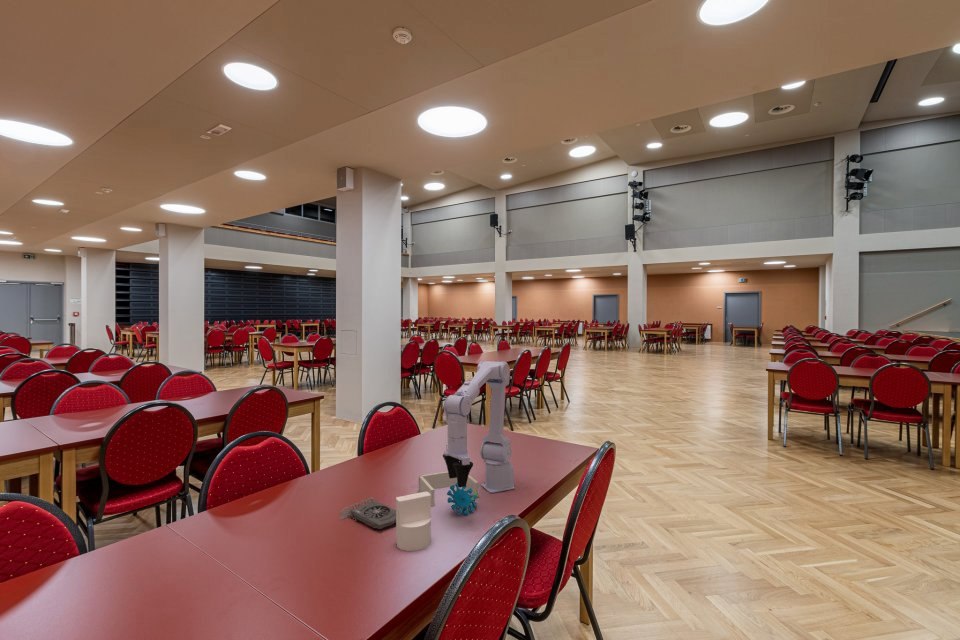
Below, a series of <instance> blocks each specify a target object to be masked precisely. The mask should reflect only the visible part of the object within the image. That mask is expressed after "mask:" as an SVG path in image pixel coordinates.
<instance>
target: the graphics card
mask: <svg viewBox="0 0 960 640" xmlns="http://www.w3.org/2000/svg"><path fill="white" fill-rule="evenodd" d="M339 515H342V516H339V521H341V520H343V519H344V518H345V519H347V517H348V519H349V518H352V520H353V519H355V520H354V521H356V522H357V521H359V522H361V523H363V524H366V525H368V526H369V525H370V526H369V527H371V526H372V527H371V528H373V529H375V528H377V530H378V529H379V530H384V528H385V527H388V526H393V525H395V524H396V509H394V508H392V507H390V506H388V505H385V504H383V503H381V502H379V501H377V500H374V497H373V496H371V497H368V498H366V499H363V500H361V501H359V502H357V503H354V504H351V505H348V506H345V507H344V508H342V509H341V510H340V511H339ZM352 516H353V517H352ZM345 519H344V520H345ZM394 523H395V524H394ZM392 524H393V525H392Z"/></svg>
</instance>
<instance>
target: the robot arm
mask: <svg viewBox="0 0 960 640" xmlns="http://www.w3.org/2000/svg"><path fill="white" fill-rule="evenodd" d="M510 377H511V367H510V366H509V364H508V362H507V361H489V360H487V361H486V360H481V361H480V362H479V363H478V364H477V369H476V372H475V374H474V376H473V377H472V378H471V380H466V381H464V382H463V384H462V385H461V386H460V387H459V388H458V389H457V391H455V392H454V394H450V395H448V396H447V397H446V398H445V399H444V404H443V406H442V407H443V411H444V413H445V419H446V421H447V444H446V446H445V448H446V449H445V450H446V451H443V454H442V457H443V459H444V461H445V465H446V468H447V471H448V474H449V478H450V479H451V478H457V483H458V487H459V489H461V488H462V487H466V484H467V479H468V475H470V473H471V470H472V468H473V466H474V462H472V461H471V460H470V459H471V458H470V456H469V451H468V415H470V412H471V408H472V407H473V406H472V405H473V402H474V401H475V399H477V397H479V394H480V388H482V386H483V385H484V384H487V385H489V387H490V404H489V405H490V407H489V421H488V422H489V423H488V434H486V435H484V436H483V438H481V439H482V440H481V446H480V449H479V455H480V457H481V459H482V460H483V463H485V467H484V468H485V470H484V471H485V473H484V475H485V476H484V477H485V483H484V482H483V483H481V484H480V486H481V487H482V488H484V489H485V490H486V491H488V493H490V494H494V493H500V492H505V491H510V490H515V489H516V487H515V480H514V479H515V478H514V477H515V473H514V472H515V471H514V470H515V469H514V466H513V465H514V464H513V463H512V461H511V458H512V451H513V450H512V445H511V443H512V442H511V439H509V437H507V436H506V434H504V423H505V405H506V387H507V386H509V385H510Z"/></svg>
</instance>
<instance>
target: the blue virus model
mask: <svg viewBox="0 0 960 640" xmlns="http://www.w3.org/2000/svg"><path fill="white" fill-rule="evenodd" d="M466 487H467V485H466ZM466 487H461V488H459V487H458V483H456V484H455V486H454V485H452V486H449V490H448V491H447V492H446V496H449V497H448V498H447V499H446V500H447V503H449V504H450V503H453V504H452V505H451V506H450V508H451V510H452V511H454V510H455V509H456V508H459V509H457V511H456V513H457V514H458V515H461V514H462V513H463V515H464V516H468V515H469V514H470V513H474V512H475V508H476V506H477V505H478V502H477V501H476V499H477V497H478V498H479V492H478V493H476V494H475V495H471V494H470V493H472V492H473V491H472V489H471V488H470V489H469V490H466V489H465V488H466ZM455 488H456V489H455ZM468 508H469V509H468ZM463 509H464V512H463Z"/></svg>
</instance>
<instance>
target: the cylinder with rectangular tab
mask: <svg viewBox="0 0 960 640" xmlns="http://www.w3.org/2000/svg"><path fill="white" fill-rule="evenodd" d="M395 501H396V502H395V504H396V505H395V510H396V523H395V524H396V525H395V529H396V530H395V531H396V532H395V534H396V535H395V538H396V539H395V545H396V544H397V545H396V547H397V548H398V549H399V550H403V551H406V552H407V551H408V552H415V551H421V550H423V549H426V548H427V547H428V546H430V545H431V542H432V513H431V512H432V511H431V510H432V506H431V494H430V493H429V492H427V491H426V492H421V493H420V492H417V493H411V494H407V495H402V496H396V497H395Z"/></svg>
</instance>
